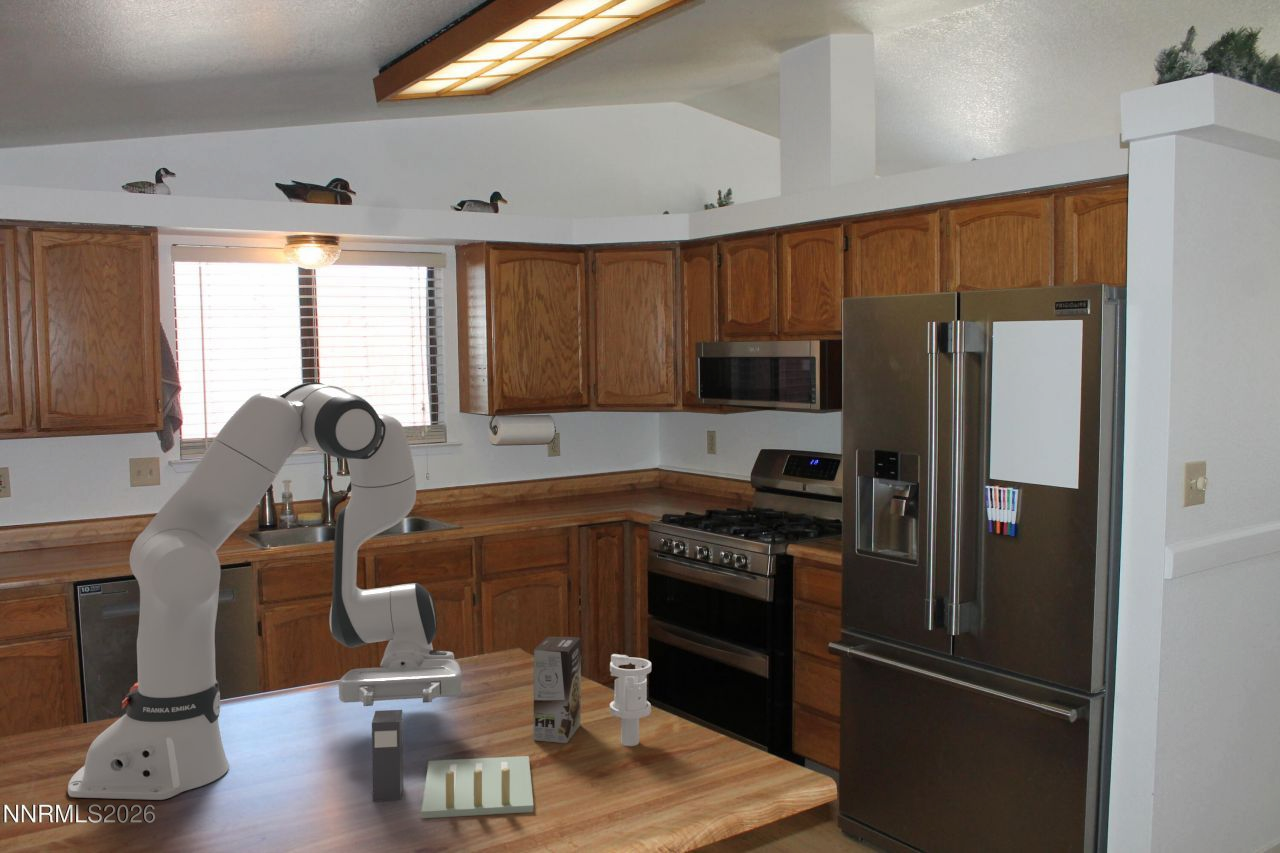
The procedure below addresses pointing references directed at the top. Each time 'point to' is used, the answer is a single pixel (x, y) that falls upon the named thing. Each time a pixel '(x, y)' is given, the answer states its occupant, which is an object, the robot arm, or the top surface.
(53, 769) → the top surface
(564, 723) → the coffee box
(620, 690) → the white plastic cylinder
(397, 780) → the block
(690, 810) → the top surface
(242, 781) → the top surface
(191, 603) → the robot arm
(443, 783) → the pinboard
